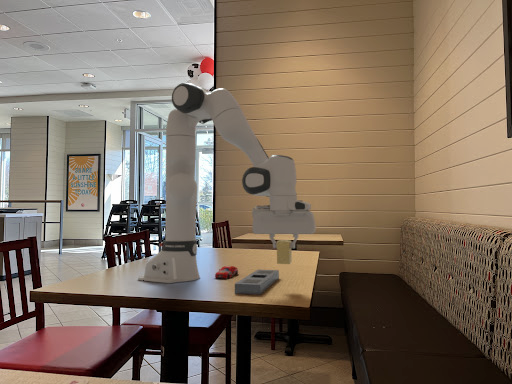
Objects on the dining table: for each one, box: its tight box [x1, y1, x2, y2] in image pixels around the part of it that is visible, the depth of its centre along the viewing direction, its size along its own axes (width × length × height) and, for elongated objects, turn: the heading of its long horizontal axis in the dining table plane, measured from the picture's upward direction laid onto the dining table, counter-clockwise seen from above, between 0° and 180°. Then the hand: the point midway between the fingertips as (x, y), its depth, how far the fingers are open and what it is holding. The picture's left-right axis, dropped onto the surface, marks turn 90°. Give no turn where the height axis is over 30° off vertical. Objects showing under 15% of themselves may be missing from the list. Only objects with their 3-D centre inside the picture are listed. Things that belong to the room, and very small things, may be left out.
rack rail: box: [234, 269, 280, 296], centre depth 127 cm, size 8×28×3 cm, turn 165°
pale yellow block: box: [276, 239, 293, 265], centre depth 120 cm, size 4×4×7 cm
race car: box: [214, 265, 239, 280], centre depth 144 cm, size 13×5×4 cm, turn 159°
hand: (284, 248), depth 120 cm, fingers closed on pale yellow block, 4 cm apart
